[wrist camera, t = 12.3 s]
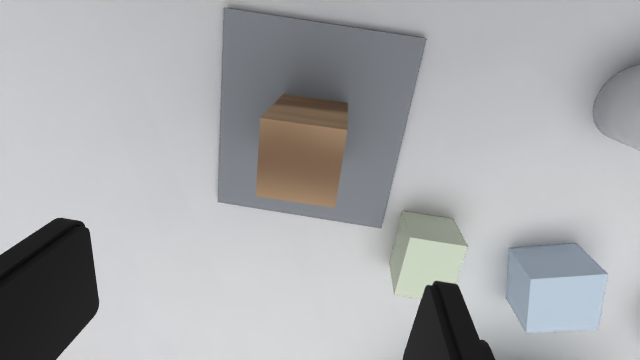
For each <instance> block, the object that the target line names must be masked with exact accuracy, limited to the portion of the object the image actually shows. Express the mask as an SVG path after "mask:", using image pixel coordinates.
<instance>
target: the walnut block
mask: <svg viewBox="0 0 640 360" xmlns="http://www.w3.org/2000/svg"><path fill="white" fill-rule="evenodd" d="M347 126H348V103H345V102H338V101H331V100H324V99H317V98H309V97H302V96H295V95H288V94H283V95H282V96H281V97H280V98H279V99H278V100H277V101H276V102H275V103H274V104H273V105H272V106H271V107H270V108H269V109H268V110H267V111H266V112H265V113H264V114H263V116H262V117H261V118H260V131H259V148H258V164H257V181H256V196H258V197H265V198H271V199H278V200H285V201H292V202H299V203H305V204H312V205H319V206H326V207H333V208H335V205H336V199H337V192H338V186H339V180H340V174H341V167H342V161H343V155H344V148H345V142H346V136H347Z"/></svg>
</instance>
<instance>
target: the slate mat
mask: <svg viewBox="0 0 640 360" xmlns="http://www.w3.org/2000/svg"><path fill="white" fill-rule="evenodd" d="M425 43H426V38H420V37H413V36H406V35H400V34H393V33H387V32H380V31H374V30H367V29H361V28H354V27H347V26H341V25H334V24H328V23H321V22H315V21H308V20H302V19H295V18H288V17H282V16H275V15H269V14H262V13H256V12H249V11H242V10H236V9H229V8H224V20H223V51H222V83H221V115H220V146H219V178H218V202H220V203H227V204H233V205H239V206H245V207H251V208H258V209H264V210H270V211H276V212H282V213H289V214H295V215H301V216H307V217H314V218H320V219H326V220H332V221H338V222H345V223H351V224H357V225H363V226H370V227H376V228H381V227H382V223H383V219H384V214H385V210H386V206H387V202H388V198H389V194H390V189H391V185H392V181H393V177H394V173H395V168H396V164H397V160H398V156H399V152H400V147H401V143H402V139H403V135H404V131H405V127H406V122H407V118H408V114H409V110H410V106H411V101H412V97H413V93H414V89H415V85H416V80H417V76H418V72H419V68H420V64H421V60H422V55H423V51H424V47H425ZM283 94H288V95H295V96H302V97H309V98H317V99H324V100H331V101H338V102H345V103H348V126H347V136H346V142H345V148H344V155H343V161H342V167H341V174H340V180H339V186H338V192H337V199H336V205H335V208H333V207H326V206H319V205H312V204H305V203H299V202H292V201H285V200H278V199H271V198H265V197H258V196H256V181H257V164H258V148H259V131H260V118H261V117H262V116H263V114H264V113H265V112H266V111H267V110H268V109H269V108H270V107H271V106H272V105H273V104H274V103H275V102H276V101H277V100H278V99H279V98H280V97H281V96H282V95H283Z"/></svg>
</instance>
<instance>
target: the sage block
mask: <svg viewBox="0 0 640 360" xmlns="http://www.w3.org/2000/svg"><path fill="white" fill-rule="evenodd" d="M467 249H468V245H467V243H466V242H465V240H464V238H463V236H462V234H461V232H460V230H459V228H458V226H457V225H456V223H455V221H454V219H451V218H445V217H438V216H432V215H426V214H419V213H413V212H407V211H403V212H402V216H401V219H400V223H399V227H398V231H397V235H396V239H395V243H394V246H393V250H392V254H391V258H390V262H389V265H390V271H391V277H392V284H393V290H394V295H399V296H406V297H412V298H418V299H422V296H423V293H424V289H425V287H426V285H432V284H433V282H434V281H442V282H448V283H454V284H455V282H456V280H457V277H458V274H459V271H460V268H461V266H462V263H463V260H464V257H465V254H466V251H467Z"/></svg>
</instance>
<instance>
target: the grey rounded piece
mask: <svg viewBox="0 0 640 360" xmlns="http://www.w3.org/2000/svg"><path fill="white" fill-rule="evenodd" d="M593 118H594V122H595V124H596V126H597V128H598V129H599V130H600V131H601V132H602V133H603V134H604V135H606V136H608V137H610V138H612V139H615V140H617V141H619V142H621V143H624V144H626V145H628V146H630V147H633V148H635V149H637V150H639V151H640V65H635V66H632V67H629V68H627V69H624V70H622V71H621V72H619V73H617V74H616V75H614V76H613V77H612V78H611V79H610V80H609V81H608V82H607V83H606V84H605V85H604V86H603V87H602V89H601V90H600V92H599V93H598V95H597V97H596V100H595V103H594V107H593Z"/></svg>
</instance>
